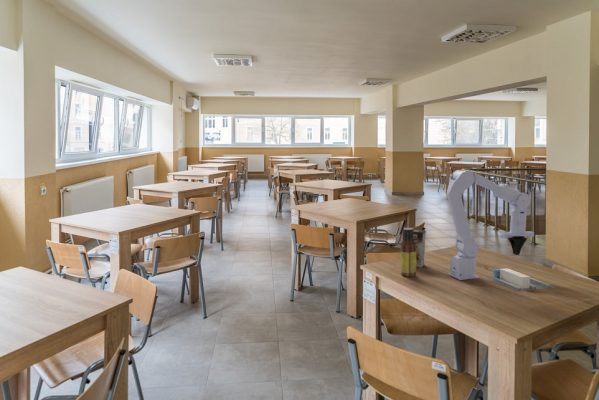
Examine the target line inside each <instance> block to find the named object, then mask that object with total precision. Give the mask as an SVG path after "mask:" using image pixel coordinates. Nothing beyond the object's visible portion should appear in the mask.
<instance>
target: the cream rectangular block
mask: <svg viewBox="0 0 599 400" xmlns="http://www.w3.org/2000/svg"><path fill="white" fill-rule="evenodd" d="M508 268H509V267H506V268H505V269H503V268H499V269H500V279H501V280H503V281H506V282H508V283H511V284H513V285H515V286H518V287H520V288H521V289H526V288H529V285H530V277H531V276H529V275H527V274H524V273H522V272H519V271H516V270H513V269H511V268H509V269H508Z"/></svg>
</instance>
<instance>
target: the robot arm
mask: <svg viewBox="0 0 599 400" xmlns="http://www.w3.org/2000/svg"><path fill="white" fill-rule="evenodd" d="M477 185H478V186H480V187H482V188H485V189H487V190H489V191H491V192H494V196H495V197H496V198H498V199H501V200H503V201H505V202H507V203H509V204H510V205H511V207H510V208H511V210H510V222H509V223H510V224H509V231H506V232H501V233H500V238H502V239H507V240H508V241H509V243H510V245H511V246H510V247H511V250H512V254H513V255H516V256H520V253H521V251H522V249H523V246H524V244H525V243H526V242H527V237H529V238H530V237H531V238H532V237H533V238H534V237H535V232H534V231H531V230H530V231H528V230H527V231H526V226H527V211H528V207H529V206H530V204H531V200H530V197H529V195H528V194H527V193H523V192H520V190H519V189H515V188H512V187H510V184H508V183H500V184H498V183H495V182H493V181H492V180H490V179H488V178H487V177H484V176H483V175H480V174H477V173H474V172H472V171H469V170H462V169H457V170H454V171H453V172H452V174H451V175H450V176H449V182H448V186H447V190H446V197H447V200H448V204H449V208H450V212H451V216H452V220H453V224H454V227H455V230H456V231H455V232H456V235H455V239H456V241H455V248H456V251H457V253H456V255H455V256H452V257H451V258H450V262H449V265H450V266H449V273H448V275H449V276H451V277H453V278H455V279H456V280H460V281H461V280H462V281H463V280H469V279H470V280H471V279H480V276H479V275H476V264H477V263H476V259H477V255H478V253H479V251H480V249H479V245H478V244H477V242H475V238H474V236H473V235H472V233H471V231H470V227H469V226H470V225H469V222H468V218H467V214H466V210H465V206H464V203H463V200H462V195H463V194H464V192H465V191H466V190H468V189H469V188H470V187H471V186H477Z"/></svg>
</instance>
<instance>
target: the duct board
mask: <svg viewBox="0 0 599 400" xmlns="http://www.w3.org/2000/svg"><path fill="white" fill-rule="evenodd" d="M507 268H508V269H510V268H509V267H507ZM500 269H501V268H494V269H493V276H492V278H488V280H489V281H492V282H493V283H496V284H498V285H501V286H503V287H505V288H507V289H510V290H513V291H514V292H525V291H537V290H549V289H556V288H557V287H556V286H553V285H551V284H549V283H547V282H544V281H541V280H538V279H536V278H533V277H531V276H530V285H529V288H526V289H521V288H520V287H518V286H515V285H513V284H511V283H508V282H506V281H503V280H501V279H500ZM502 269H505V268H502Z"/></svg>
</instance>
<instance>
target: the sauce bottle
mask: <svg viewBox="0 0 599 400" xmlns="http://www.w3.org/2000/svg"><path fill="white" fill-rule="evenodd" d="M413 229H414V228H413V227H404V228H403V229H402V233H403V232H404V239H403V238H402V241H401V243H400V271H401V273H400V274H401V276H404V277H415V276H417V267H416V243H415V242H414V240H413Z"/></svg>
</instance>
